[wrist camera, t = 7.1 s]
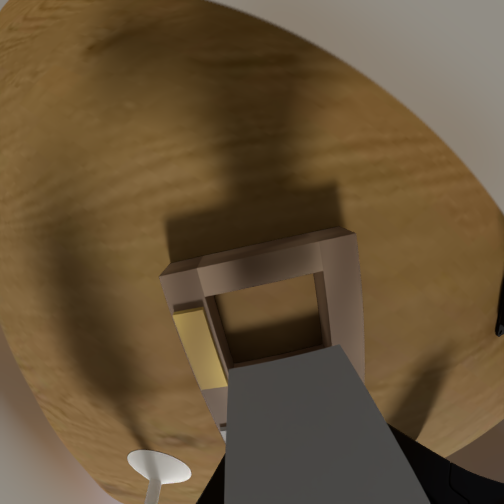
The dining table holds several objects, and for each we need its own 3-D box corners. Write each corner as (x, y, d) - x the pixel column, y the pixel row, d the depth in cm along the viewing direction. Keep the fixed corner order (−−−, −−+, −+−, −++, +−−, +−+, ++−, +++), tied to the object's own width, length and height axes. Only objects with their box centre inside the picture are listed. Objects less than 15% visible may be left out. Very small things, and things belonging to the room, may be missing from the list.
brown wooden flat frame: (339, 226, 16) (359, 234, 13) (351, 429, 20) (361, 451, 17) (170, 263, 16) (156, 279, 13) (241, 453, 20) (241, 478, 17)
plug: (339, 344, 9) (462, 568, 1) (343, 415, 10) (410, 584, 2) (228, 368, 9) (224, 628, 1) (252, 436, 10) (266, 619, 2)
